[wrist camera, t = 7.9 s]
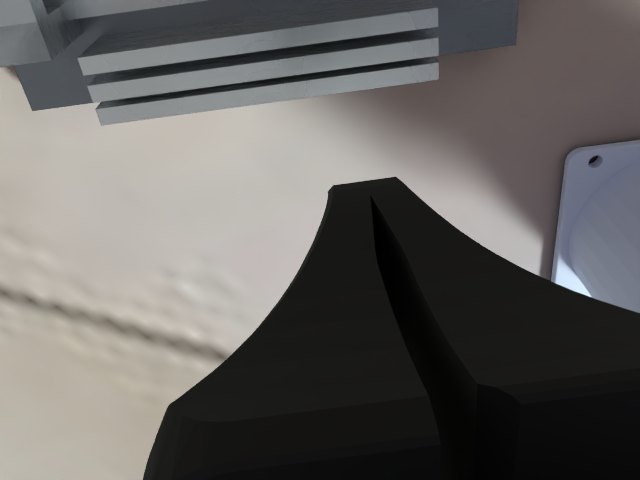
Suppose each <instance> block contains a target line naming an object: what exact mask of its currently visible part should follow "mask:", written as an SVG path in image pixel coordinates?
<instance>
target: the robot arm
mask: <svg viewBox="0 0 640 480" xmlns="http://www.w3.org/2000/svg"><path fill="white" fill-rule="evenodd" d="M596 155H598V158H597V160H596V161H595V162H593V163H590V164H589V163H588V162H589V160H590V159H591V158H592V157H593V156H596ZM143 480H640V140H634V141H626V142H619V143H611V144H604V145H596V146H588V147H581V148H577V149H574V150H573V151H571V152H570V153H569V154H568V156H567V157H566V160H565V167H564V176H563V184H562V192H561V201H560V209H559V218H558V226H557V234H556V243H555V251H554V259H553V268H552V276H551V281H549V280H547V279H544V278H542V277H540V276H538V275H535V274H533V273H531V272H529V271H527V270H525V269H523V268H521V267H519V266H517V265H515V264H513V263H512V262H510V261H508V260H506V259H504V258H502V257H501V256H499V255H497V254H495V253H493V252H492V251H490V250H488V249H487V248H485V247H483V246H482V245H480V244H479V243H477V242H476V241H474V240H473V239H471V238H470V237H468V236H467V235H465V234H464V233H462V232H461V231H459V230H458V229H457V228H455V227H454V226H453V225H452V224H450V223H449V222H448V221H446V220H445V219H444V218H443V217H441V216H440V215H439V214H438V213H436V212H435V211H434V210H433V209H432V208H430V207H429V206H428V205H427V204H426V203H425V202H424V201H422V200H421V199H420V198H419V197H418V196H417V195H416V194H415V193H414V192H412V191H411V190H410V189H409V188H408V187H407V186H406V185H405V184H404V183H403V182H402V181H400V180H399V179H398V178H397V177H391V178H384V179H377V180H369V181H362V182H355V183H348V184H340V185H333V186H332V188H331V189H330V190H329V191H328V200H327V205H326V209H325V212H324V215H323V218H322V221H321V224H320V226H319V229H318V231H317V234H316V236H315V239H314V241H313V244H312V246H311V248H310V250H309V252H308V254H307V256H306V257H305V259H304V261H303V263H302V265H301V267H300V269H299V271H298V273H297V274H296V276H295V278H294V279H293V281H292V282H291V284H290V286H289V287H288V289H287V290H286V292H285V293H284V294H283V296H282V297H281V299H280V300H279V302H278V303H277V304H276V306H275V307H274V308H273V309H272V311H271V312H270V313H269V314H268V316H267V317H266V318H265V320H264V321H263V322H262V323H261V324H260V326H259V327H258V328H257V329H256V330H255V331H254V332H253V334H252V335H251V336H250V337H249V338H248V339H247V340H246V341H245V342H244V343H243V344H242V345H241V346H240V347H239V348H238V349H237V350H236V351H235V352H234V353H233V354H232V355H231V356H230V357H229V358H228V359H227V360H225V361H224V362H223V363H222V364H221V365H220V366H219V367H217V368H216V369H215V370H214V371H213V372H211V373H210V374H209V375H208V376H206V377H205V378H204V379H203V380H201V381H200V382H199V383H197V384H196V385H195V386H194V387H192V388H191V389H190V390H188V391H187V392H186V393H185V394H183V395H182V396H181V397H179V398H178V399H177V400H175V401H174V402H172V403H171V404H170V405H169V406H168V408H167V410H166V412H165V415H164V417H163V420H162V423H161V425H160V428H159V430H158V433H157V436H156V439H155V442H154V444H153V447H152V450H151V452H150V455H149V458H148V462H147V465H146V469H145V473H144V477H143Z"/></svg>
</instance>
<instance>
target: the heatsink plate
mask: <svg viewBox="0 0 640 480" xmlns="http://www.w3.org/2000/svg"><path fill="white" fill-rule="evenodd" d="M517 16H518V0H0V67H7V66H14V68H15V70H16V73H17V75H18V77H19V80H20V82H21V85H22V87H23V89H24V92H25V94H26V97H27V99H28V101H29V104H30V106H31V109H32V111H36V110H43V109H51V108H58V107H65V106H72V105H80V104H87V103H96V102H101V103H100V104H99V105H98V107H97V108H96V109H95V110H96V112H97V115H98V118H99V121H100V124H101V125H108V124H116V123H123V122H130V121H138V120H145V119H153V118H160V117H167V116H175V115H182V114H190V113H197V112H204V111H212V110H219V109H226V108H234V107H241V106H249V105H256V104H263V103H271V102H278V101H286V100H293V99H300V98H308V97H315V96H322V95H330V94H337V93H345V92H352V91H359V90H367V89H374V88H382V87H389V86H396V85H404V84H411V83H418V82H426V81H433V80H439V62H438V61H437V60H436V58H435V57H434V56H439V55H445V54H453V53H460V52H467V51H475V50H482V49H489V48H497V47H504V46H511V45H516V33H517Z"/></svg>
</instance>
